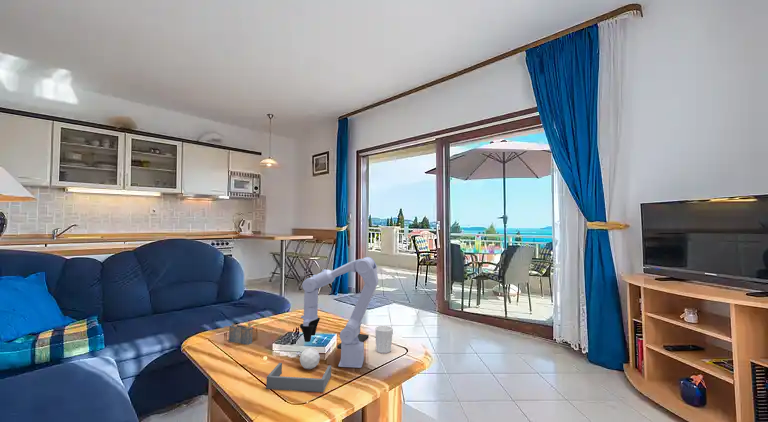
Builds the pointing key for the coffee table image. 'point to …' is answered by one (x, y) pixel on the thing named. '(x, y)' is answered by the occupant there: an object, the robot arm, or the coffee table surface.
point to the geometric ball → (309, 358)
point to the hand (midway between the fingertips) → (310, 338)
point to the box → (296, 381)
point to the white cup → (383, 339)
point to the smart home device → (360, 337)
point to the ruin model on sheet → (241, 334)
